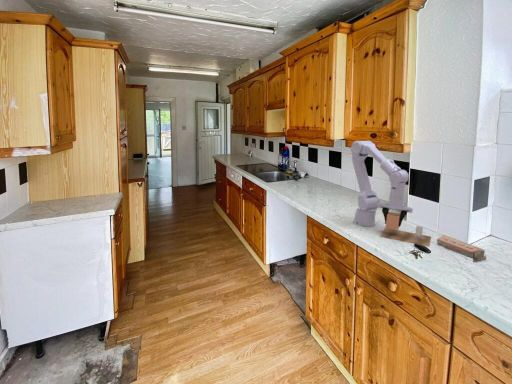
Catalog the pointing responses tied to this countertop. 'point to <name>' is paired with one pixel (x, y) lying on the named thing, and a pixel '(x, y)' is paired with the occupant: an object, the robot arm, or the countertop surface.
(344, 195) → the countertop surface
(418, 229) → the post
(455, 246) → the packaged product
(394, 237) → the board
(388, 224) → the orange rectangular block
